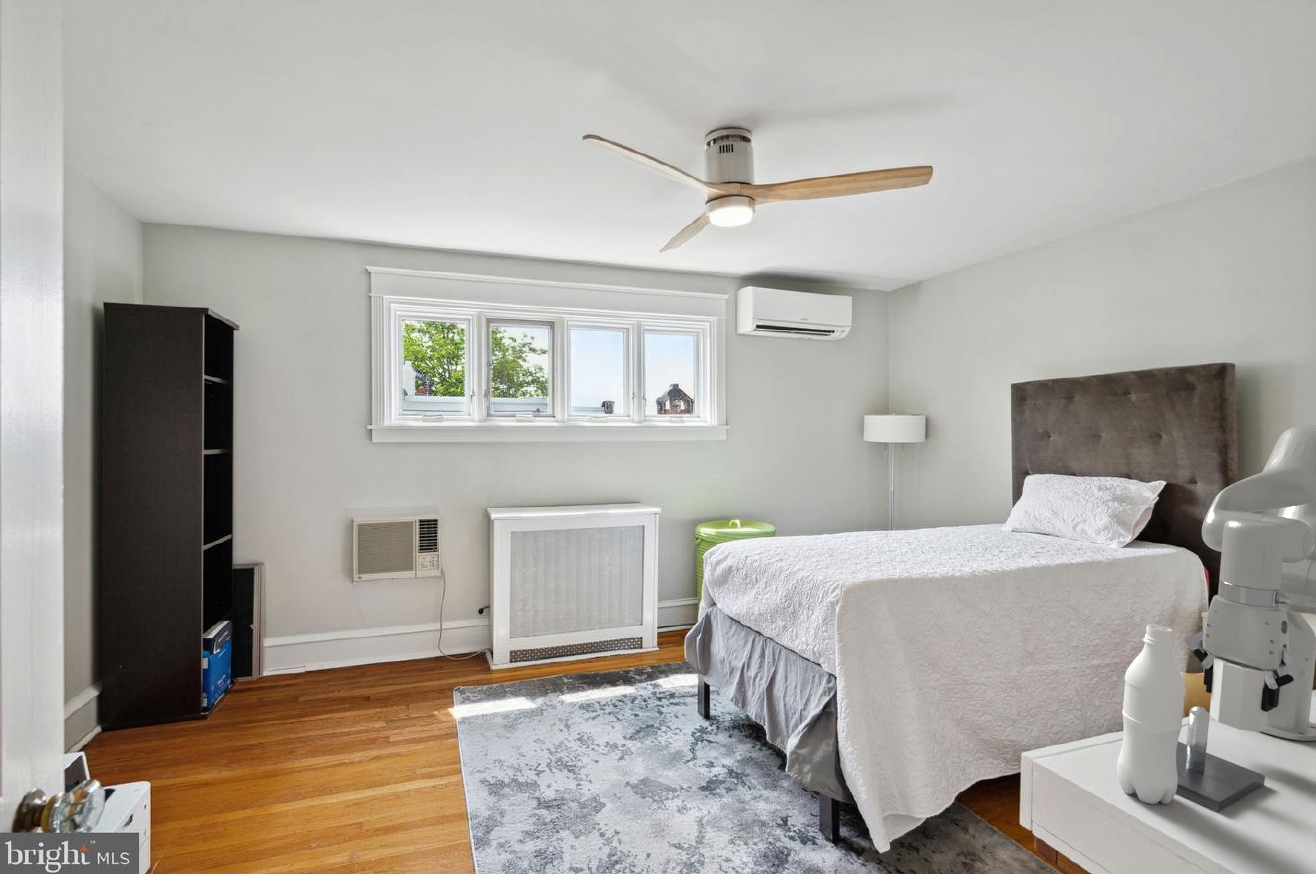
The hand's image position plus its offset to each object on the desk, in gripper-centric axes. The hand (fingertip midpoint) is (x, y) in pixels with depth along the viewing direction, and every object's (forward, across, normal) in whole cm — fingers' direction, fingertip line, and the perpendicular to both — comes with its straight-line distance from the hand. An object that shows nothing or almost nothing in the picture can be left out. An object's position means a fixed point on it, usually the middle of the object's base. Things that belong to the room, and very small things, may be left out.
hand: (1239, 699), depth 110 cm
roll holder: (+9, 0, +15) cm, 18 cm away
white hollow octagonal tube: (+4, 0, 0) cm, 4 cm away
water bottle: (+9, +1, +28) cm, 29 cm away
